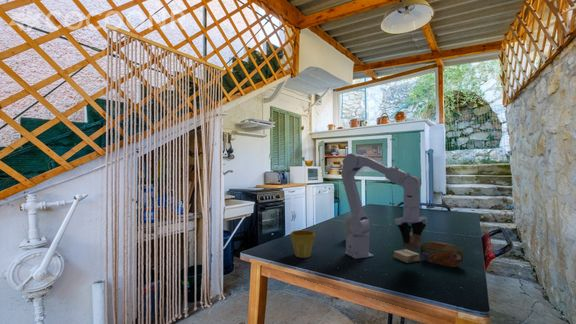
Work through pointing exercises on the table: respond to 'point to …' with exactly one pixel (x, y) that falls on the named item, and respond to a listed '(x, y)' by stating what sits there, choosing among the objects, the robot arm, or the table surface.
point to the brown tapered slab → (442, 253)
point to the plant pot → (302, 242)
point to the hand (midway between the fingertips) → (411, 241)
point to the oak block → (406, 256)
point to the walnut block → (413, 241)
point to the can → (347, 227)
